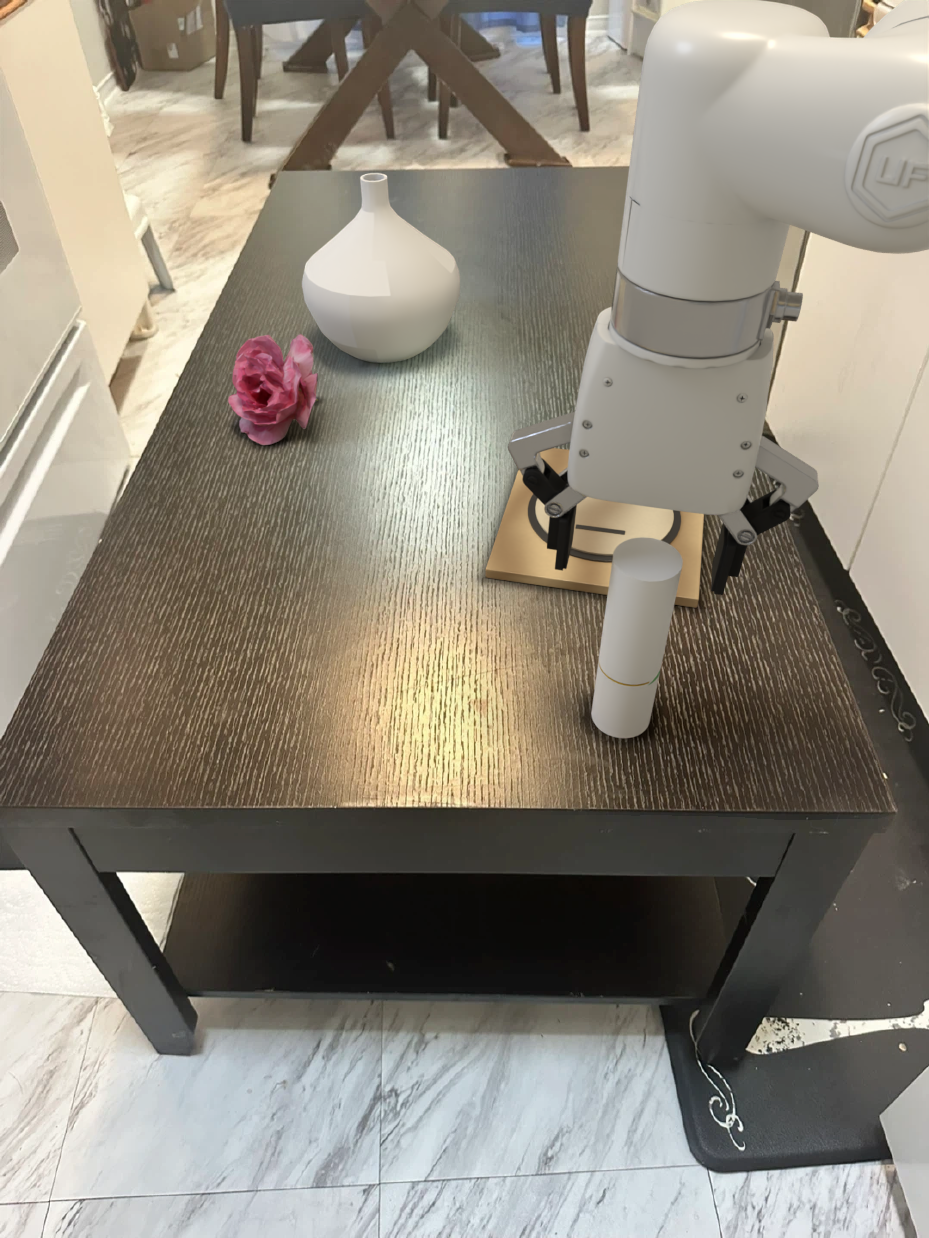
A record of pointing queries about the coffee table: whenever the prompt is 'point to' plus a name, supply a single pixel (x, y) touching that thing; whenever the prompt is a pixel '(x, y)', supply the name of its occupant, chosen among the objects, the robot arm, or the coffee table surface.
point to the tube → (634, 634)
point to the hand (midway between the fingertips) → (639, 568)
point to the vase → (381, 283)
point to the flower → (273, 387)
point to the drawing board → (589, 540)
